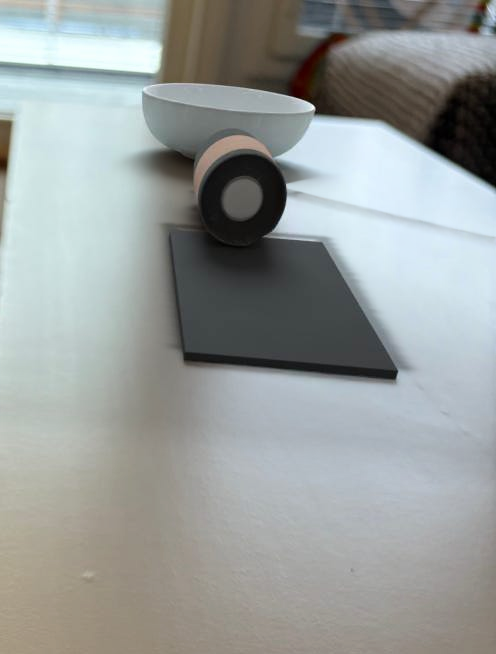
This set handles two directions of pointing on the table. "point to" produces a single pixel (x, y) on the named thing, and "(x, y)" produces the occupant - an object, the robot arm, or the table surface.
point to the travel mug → (238, 187)
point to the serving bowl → (223, 115)
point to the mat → (271, 307)
